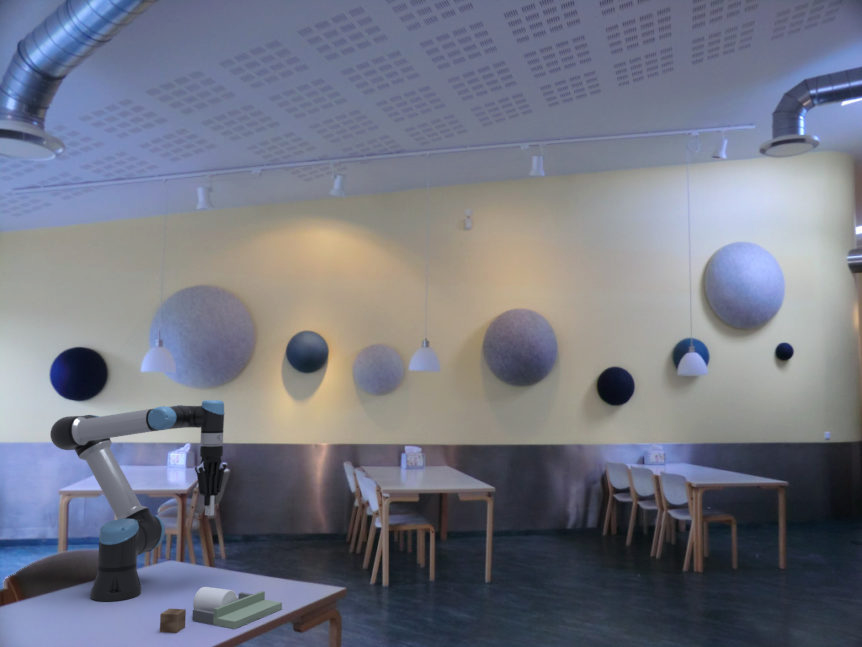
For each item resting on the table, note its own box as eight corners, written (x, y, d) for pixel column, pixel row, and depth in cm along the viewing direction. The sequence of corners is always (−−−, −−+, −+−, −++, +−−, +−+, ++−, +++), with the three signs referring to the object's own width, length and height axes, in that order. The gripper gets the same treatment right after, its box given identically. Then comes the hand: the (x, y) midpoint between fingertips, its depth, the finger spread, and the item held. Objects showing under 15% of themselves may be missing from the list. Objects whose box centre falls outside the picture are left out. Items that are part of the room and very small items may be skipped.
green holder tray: (192, 620, 211) (193, 604, 211) (241, 601, 230) (242, 587, 230) (234, 629, 204) (235, 612, 204) (281, 609, 222) (282, 594, 223)
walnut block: (159, 632, 201) (160, 613, 201) (168, 626, 206) (169, 608, 206) (176, 633, 200) (177, 614, 201) (185, 627, 205) (185, 609, 205)
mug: (220, 622, 210) (220, 594, 210) (192, 618, 213) (193, 590, 214) (245, 610, 221) (245, 584, 222) (218, 607, 224) (219, 580, 225)
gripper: (206, 447, 242) (203, 518, 240) (233, 444, 253) (231, 513, 251) (189, 446, 245) (186, 516, 243) (217, 443, 257) (214, 511, 254)
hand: (209, 514), depth 247 cm, fingers closed
